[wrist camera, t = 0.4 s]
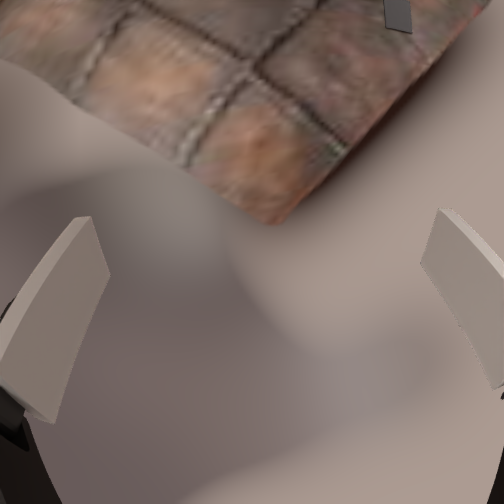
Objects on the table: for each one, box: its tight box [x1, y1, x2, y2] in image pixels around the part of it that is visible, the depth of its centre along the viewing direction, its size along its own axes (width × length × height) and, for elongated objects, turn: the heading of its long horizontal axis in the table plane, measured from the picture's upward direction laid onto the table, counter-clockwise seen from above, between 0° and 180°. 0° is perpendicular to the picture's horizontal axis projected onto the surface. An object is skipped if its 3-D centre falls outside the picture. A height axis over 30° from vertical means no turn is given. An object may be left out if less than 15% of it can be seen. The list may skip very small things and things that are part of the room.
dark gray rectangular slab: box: [383, 0, 412, 33], centre depth 23 cm, size 5×4×1 cm
